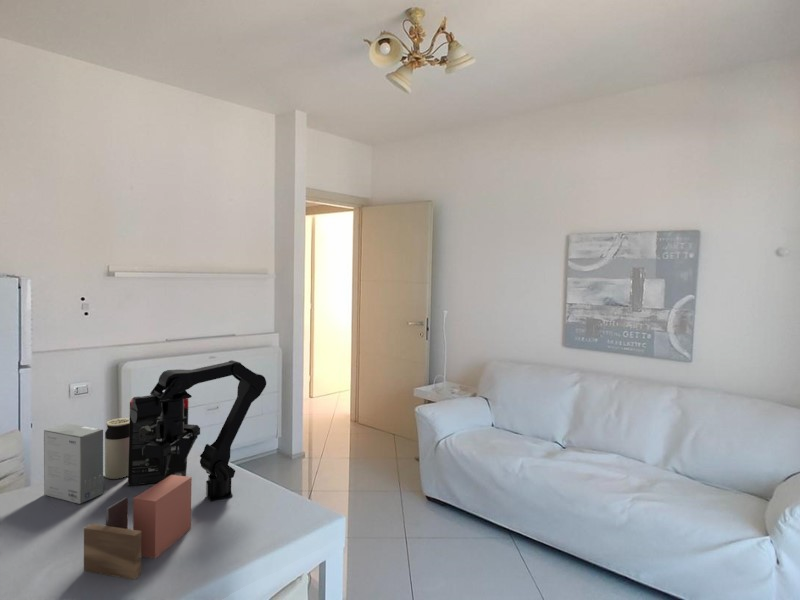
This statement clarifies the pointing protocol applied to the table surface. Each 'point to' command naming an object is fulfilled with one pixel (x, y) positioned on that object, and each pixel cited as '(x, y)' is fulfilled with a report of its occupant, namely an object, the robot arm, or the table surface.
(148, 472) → the graphics card box
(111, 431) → the travel mug
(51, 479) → the hard drive box
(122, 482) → the table surface
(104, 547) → the shelf wall
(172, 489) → the book box
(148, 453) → the robot arm
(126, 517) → the bookend
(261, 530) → the table surface
